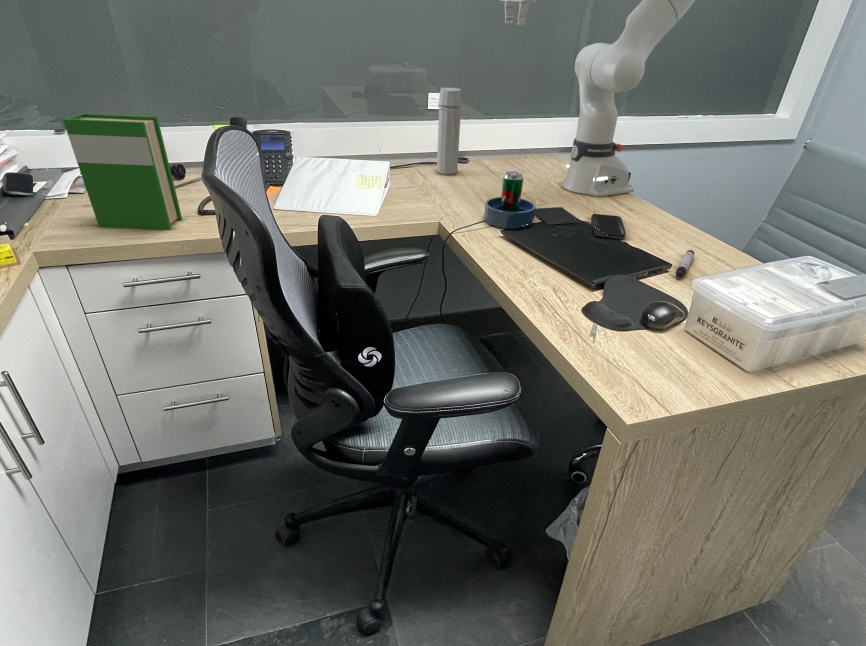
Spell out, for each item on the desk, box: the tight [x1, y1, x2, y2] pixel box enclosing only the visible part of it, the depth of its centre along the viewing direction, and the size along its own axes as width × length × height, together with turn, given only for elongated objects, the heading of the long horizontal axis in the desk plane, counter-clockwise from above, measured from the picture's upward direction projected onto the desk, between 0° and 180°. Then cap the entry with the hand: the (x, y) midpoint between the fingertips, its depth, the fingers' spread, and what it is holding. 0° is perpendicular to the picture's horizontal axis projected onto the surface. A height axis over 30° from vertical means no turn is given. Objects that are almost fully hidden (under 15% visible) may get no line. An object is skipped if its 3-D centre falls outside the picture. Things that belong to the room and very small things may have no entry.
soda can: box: [500, 170, 524, 212], centre depth 141 cm, size 5×5×12 cm
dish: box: [483, 196, 537, 230], centre depth 144 cm, size 13×13×4 cm
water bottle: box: [436, 87, 464, 176], centre depth 174 cm, size 9×8×25 cm
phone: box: [590, 213, 627, 240], centre depth 142 cm, size 8×1×15 cm
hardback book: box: [62, 112, 183, 230], centre depth 129 cm, size 18×7×24 cm, turn 88°
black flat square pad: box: [534, 206, 581, 224], centre depth 149 cm, size 10×12×1 cm
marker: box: [675, 249, 695, 279], centre depth 122 cm, size 15×2×2 cm, turn 150°
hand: (514, 24), depth 136 cm, fingers open, 8 cm apart
